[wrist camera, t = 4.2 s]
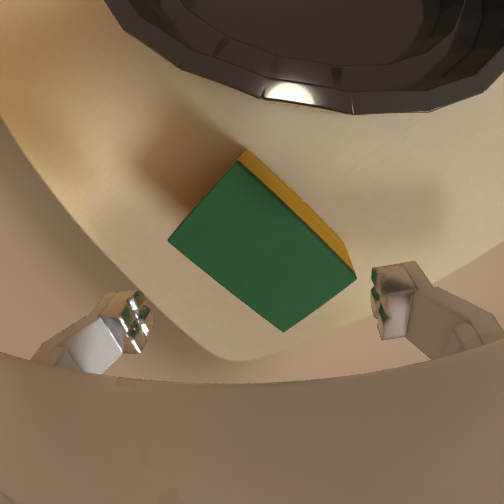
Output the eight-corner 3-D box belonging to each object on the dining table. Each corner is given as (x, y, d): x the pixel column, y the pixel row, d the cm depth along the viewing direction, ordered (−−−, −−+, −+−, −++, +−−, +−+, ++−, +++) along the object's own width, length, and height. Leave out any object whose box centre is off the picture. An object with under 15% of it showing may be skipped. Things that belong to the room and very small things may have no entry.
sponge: (344, 242, 15) (357, 279, 12) (284, 291, 17) (283, 333, 14) (246, 148, 13) (235, 161, 10) (190, 211, 15) (166, 241, 12)
